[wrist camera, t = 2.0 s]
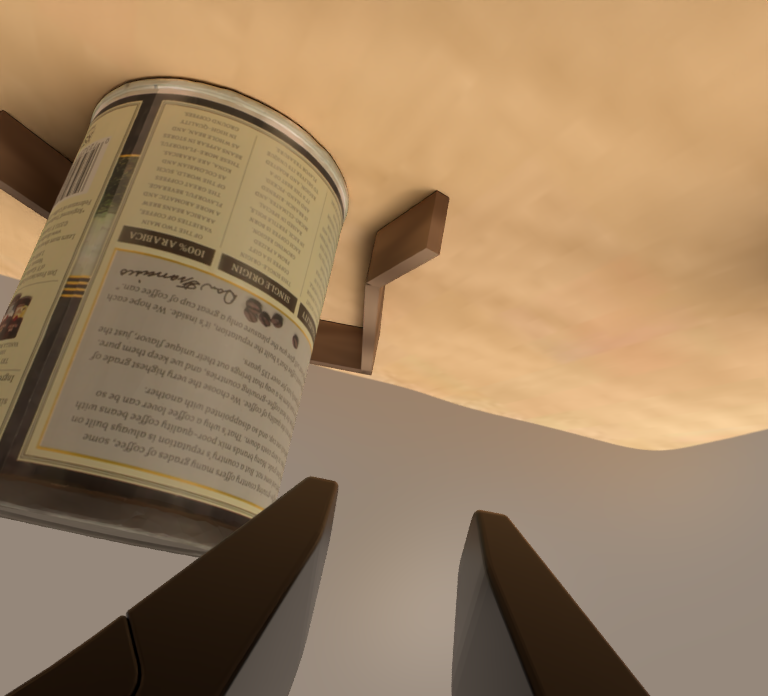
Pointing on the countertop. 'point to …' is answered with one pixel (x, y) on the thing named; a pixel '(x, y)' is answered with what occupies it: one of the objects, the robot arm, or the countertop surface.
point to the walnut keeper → (333, 341)
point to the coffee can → (167, 320)
